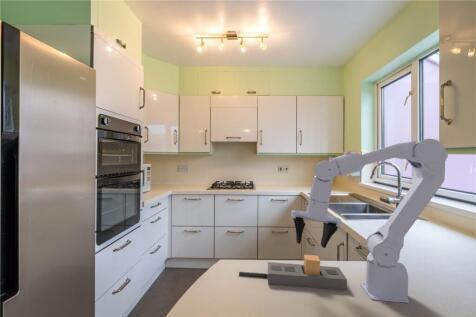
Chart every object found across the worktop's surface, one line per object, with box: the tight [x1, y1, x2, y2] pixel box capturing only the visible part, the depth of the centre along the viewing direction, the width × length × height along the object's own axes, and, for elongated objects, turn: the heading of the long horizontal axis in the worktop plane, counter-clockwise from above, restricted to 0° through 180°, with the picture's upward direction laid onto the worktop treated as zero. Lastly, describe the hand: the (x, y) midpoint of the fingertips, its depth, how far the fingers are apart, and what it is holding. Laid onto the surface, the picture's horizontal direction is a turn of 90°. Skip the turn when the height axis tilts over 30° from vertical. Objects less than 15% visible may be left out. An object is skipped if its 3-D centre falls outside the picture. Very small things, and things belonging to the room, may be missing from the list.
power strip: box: [238, 261, 348, 291], centre depth 75 cm, size 31×8×3 cm, turn 84°
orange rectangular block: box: [303, 254, 321, 275], centre depth 74 cm, size 4×4×7 cm
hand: (310, 244), depth 74 cm, fingers open, 7 cm apart
